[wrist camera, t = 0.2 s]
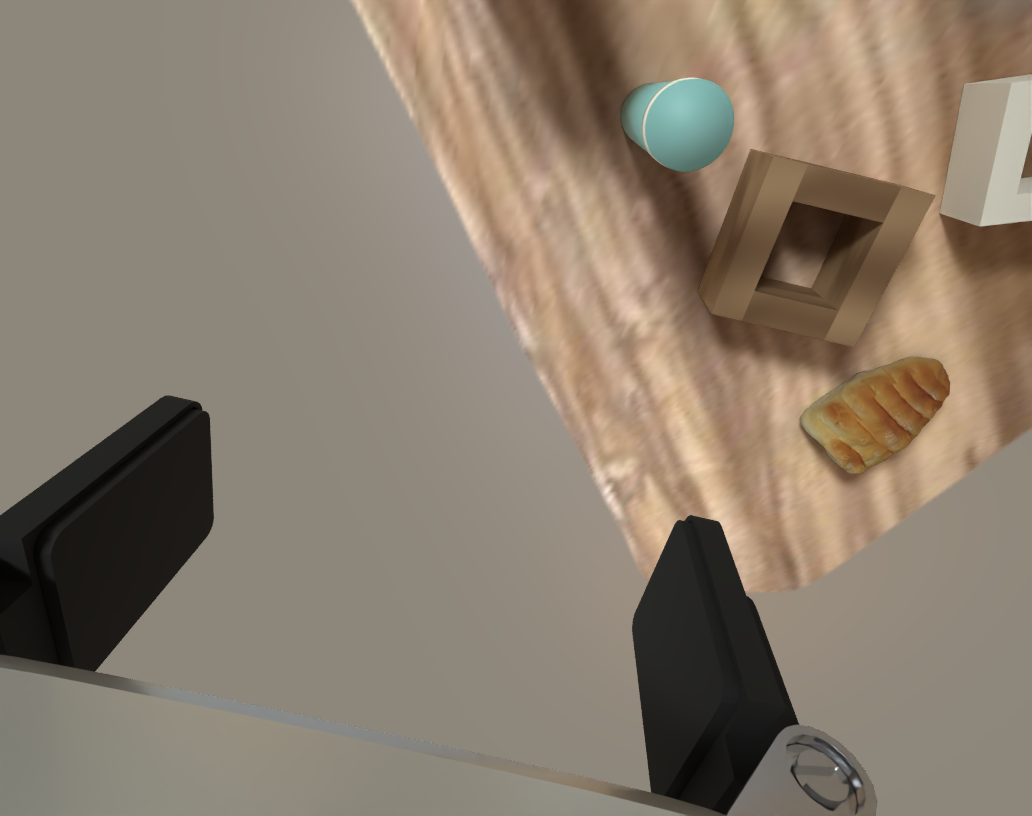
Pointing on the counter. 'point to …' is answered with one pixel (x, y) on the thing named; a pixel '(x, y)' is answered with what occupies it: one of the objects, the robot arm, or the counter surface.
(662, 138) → the dowel
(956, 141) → the white square holed block
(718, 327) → the counter surface
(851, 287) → the brown square wooden frame
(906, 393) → the pastry
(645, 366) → the counter surface
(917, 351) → the counter surface
